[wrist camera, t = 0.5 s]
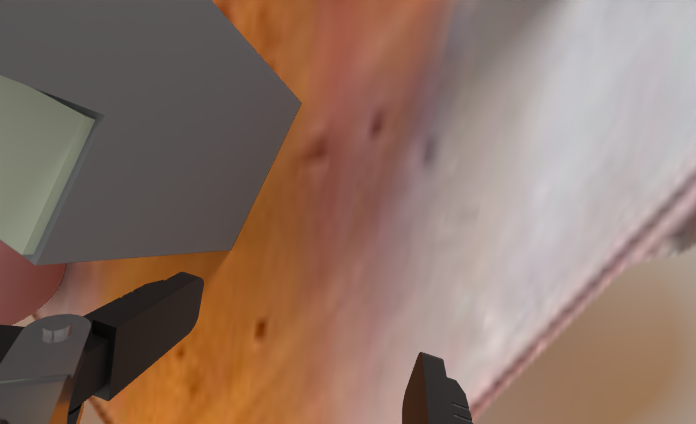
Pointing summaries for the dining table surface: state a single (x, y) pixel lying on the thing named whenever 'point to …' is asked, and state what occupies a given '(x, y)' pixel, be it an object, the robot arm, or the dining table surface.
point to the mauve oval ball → (24, 285)
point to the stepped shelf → (131, 128)
